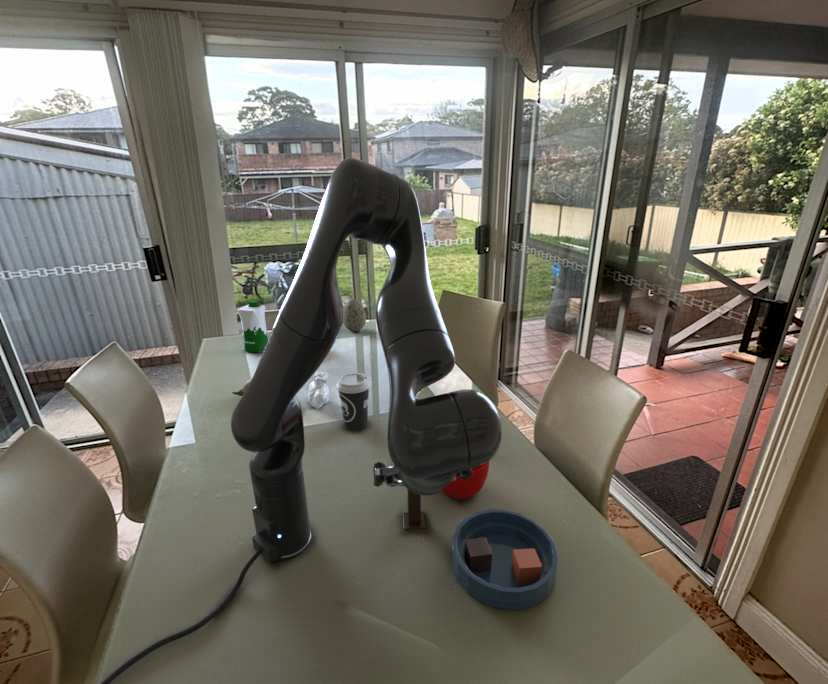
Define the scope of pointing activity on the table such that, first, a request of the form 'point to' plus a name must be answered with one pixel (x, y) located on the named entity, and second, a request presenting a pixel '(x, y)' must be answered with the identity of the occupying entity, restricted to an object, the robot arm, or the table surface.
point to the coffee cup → (354, 400)
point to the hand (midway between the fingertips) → (418, 478)
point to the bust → (318, 390)
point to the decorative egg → (354, 315)
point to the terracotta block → (526, 566)
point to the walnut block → (478, 555)
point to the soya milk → (253, 326)
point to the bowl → (504, 559)
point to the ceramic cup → (468, 483)
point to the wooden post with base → (414, 513)
